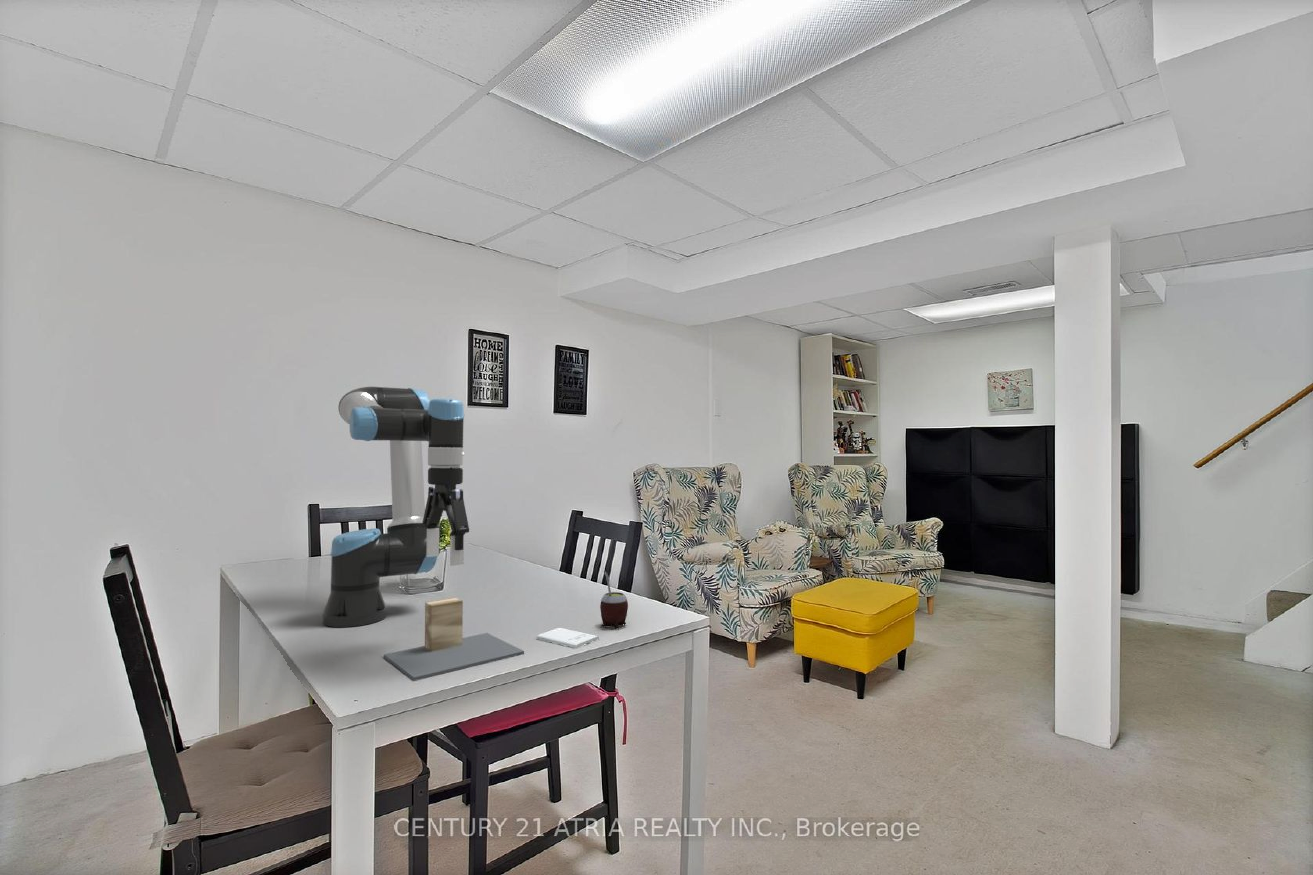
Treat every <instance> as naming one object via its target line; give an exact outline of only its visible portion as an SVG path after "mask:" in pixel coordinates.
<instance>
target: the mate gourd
mask: <svg viewBox="0 0 1313 875" xmlns="http://www.w3.org/2000/svg"><path fill="white" fill-rule="evenodd" d="M603 574H604V575H605V577H606V578H605V579H606V584H607V589H608V592H607V593H606V592H605V593H604V595H603V596H602V597H601V600H600V606H599V608H600V617H601V621H602V624H601V627H602V626H603V627H602V628H607V627H606V626H611V627H613V626H614V627H615V628H620V626H618V625H621V626H624V625H623V624H626V625H627V622H626V619H627V616H628V610H629V609H628V608H629V603H628V597H627V596H626V594H624V593H623V592H617V591H615V592H613V591H612V590H611V584H610V576H609V575H608V573H607V572H606V570H603ZM611 591H612V592H611ZM614 627H613V628H614ZM615 628H614V629H615Z"/></svg>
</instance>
